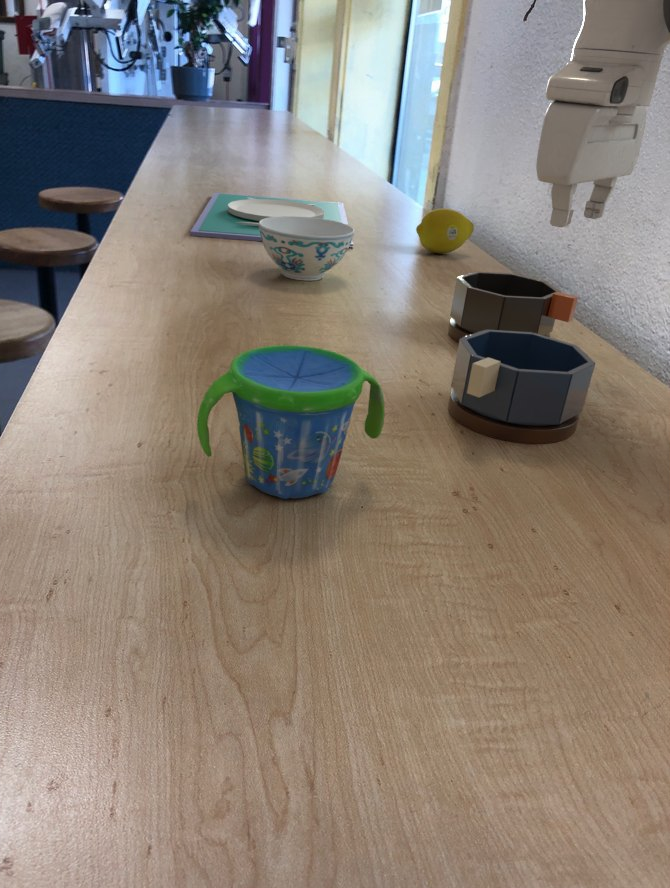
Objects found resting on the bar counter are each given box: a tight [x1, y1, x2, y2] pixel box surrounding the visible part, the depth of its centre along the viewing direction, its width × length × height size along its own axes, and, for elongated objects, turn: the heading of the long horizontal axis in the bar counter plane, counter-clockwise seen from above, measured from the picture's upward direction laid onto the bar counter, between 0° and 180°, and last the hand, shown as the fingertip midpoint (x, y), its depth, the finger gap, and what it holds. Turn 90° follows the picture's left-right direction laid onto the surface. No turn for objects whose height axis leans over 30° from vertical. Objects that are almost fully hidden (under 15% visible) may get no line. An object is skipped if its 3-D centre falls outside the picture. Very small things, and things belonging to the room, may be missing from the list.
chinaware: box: [259, 216, 355, 282], centre depth 125 cm, size 15×15×8 cm
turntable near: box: [447, 388, 580, 445], centre depth 82 cm, size 13×13×2 cm
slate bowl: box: [450, 330, 596, 426], centre depth 79 cm, size 15×12×6 cm
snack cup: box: [196, 344, 385, 500], centre depth 64 cm, size 16×10×10 cm
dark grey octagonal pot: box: [449, 271, 579, 336], centre depth 103 cm, size 15×12×6 cm
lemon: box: [415, 207, 475, 255], centre depth 148 cm, size 11×8×8 cm
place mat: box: [189, 192, 354, 247], centre depth 166 cm, size 45×30×2 cm
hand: (576, 221), depth 89 cm, fingers open, 8 cm apart
